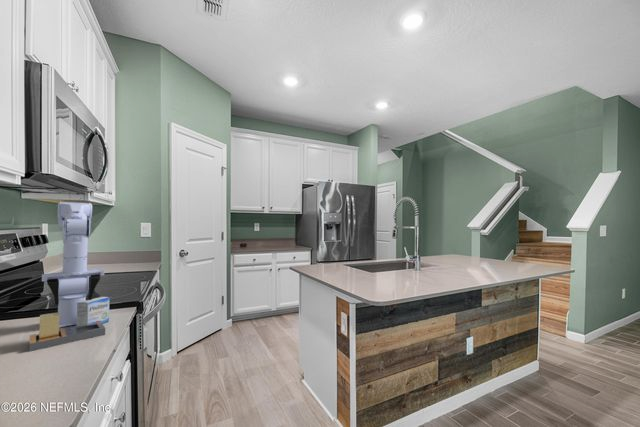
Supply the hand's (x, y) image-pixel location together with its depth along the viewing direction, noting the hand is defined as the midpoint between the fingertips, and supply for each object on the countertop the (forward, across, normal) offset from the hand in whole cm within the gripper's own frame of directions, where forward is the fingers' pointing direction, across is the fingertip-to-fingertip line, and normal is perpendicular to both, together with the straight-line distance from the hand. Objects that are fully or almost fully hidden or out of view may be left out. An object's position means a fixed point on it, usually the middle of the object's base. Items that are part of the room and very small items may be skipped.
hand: (73, 301), depth 87 cm
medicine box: (+11, +6, +8) cm, 15 cm away
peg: (+10, -5, -2) cm, 12 cm away
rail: (+10, -1, -2) cm, 11 cm away
